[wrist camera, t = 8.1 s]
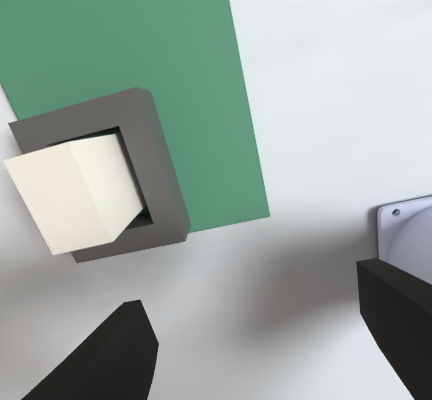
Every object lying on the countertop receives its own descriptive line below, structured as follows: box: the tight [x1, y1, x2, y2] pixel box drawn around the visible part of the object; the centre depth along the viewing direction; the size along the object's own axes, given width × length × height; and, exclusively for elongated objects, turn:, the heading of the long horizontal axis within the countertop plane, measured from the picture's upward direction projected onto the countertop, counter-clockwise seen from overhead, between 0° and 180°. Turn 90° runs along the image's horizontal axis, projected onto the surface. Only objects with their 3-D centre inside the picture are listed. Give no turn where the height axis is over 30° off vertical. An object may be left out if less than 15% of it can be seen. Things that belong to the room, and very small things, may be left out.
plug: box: [3, 133, 147, 255], centre depth 13 cm, size 3×4×6 cm, turn 15°
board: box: [0, 0, 270, 263], centre depth 14 cm, size 14×16×3 cm
